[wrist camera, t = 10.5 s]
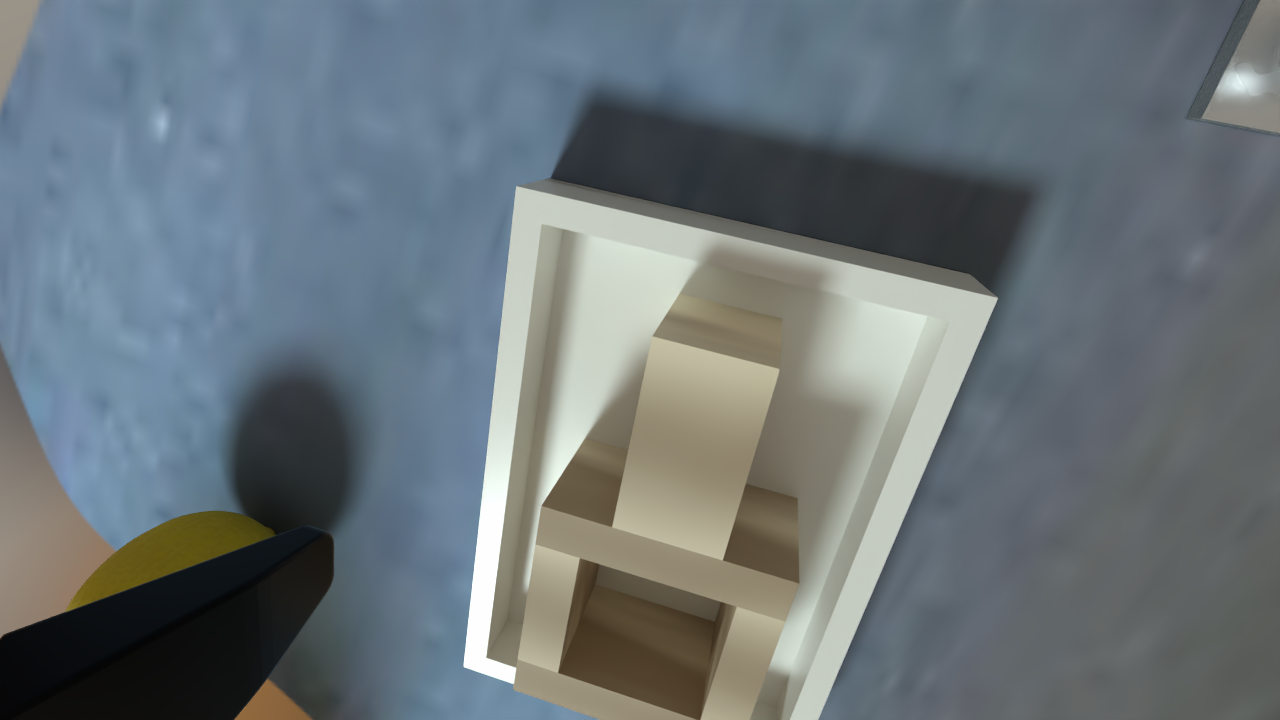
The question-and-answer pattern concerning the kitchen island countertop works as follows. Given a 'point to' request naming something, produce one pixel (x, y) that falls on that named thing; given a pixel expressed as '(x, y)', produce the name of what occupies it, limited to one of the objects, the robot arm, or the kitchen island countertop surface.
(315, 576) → the robot arm
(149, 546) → the lemon
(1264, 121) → the t stake
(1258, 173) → the kitchen island countertop surface
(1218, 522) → the kitchen island countertop surface
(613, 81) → the kitchen island countertop surface
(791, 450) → the tray
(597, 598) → the birch collar
